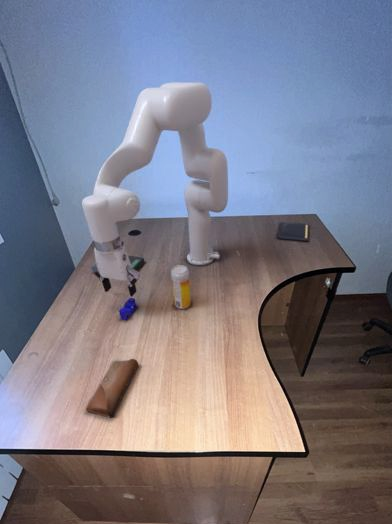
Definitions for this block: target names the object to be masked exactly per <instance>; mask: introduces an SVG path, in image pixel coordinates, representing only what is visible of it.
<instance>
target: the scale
mask: <svg viewBox="0 0 392 524" xmlns="http://www.w3.org/2000/svg"><path fill="white" fill-rule="evenodd" d="M128 257H129V260H130V263H131V267H132V268H133V269H134V270H136V271H137V272H139V270H140V268H141V267H143V265H144V264H145V263H146V262H145V258H144V257H142V256H135V255H128ZM93 273H94V274H95V272H93ZM131 276H132V277H134V276H133V275H132V274H131Z"/></svg>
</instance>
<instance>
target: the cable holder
mask: <svg viewBox="0 0 392 524" xmlns="http://www.w3.org/2000/svg"><path fill="white" fill-rule="evenodd" d="M137 308H138V306H137V301H136V298H134V297H129V298H128V299H127V300H126V301H125V302H124V305H123V307H121V308H120V309H119V310H118V313H119V317H120V319H121V320H122V321H128V319H129V318H130V317H131V315H132V314H133V313H134V312H135V310H136V309H137Z"/></svg>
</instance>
